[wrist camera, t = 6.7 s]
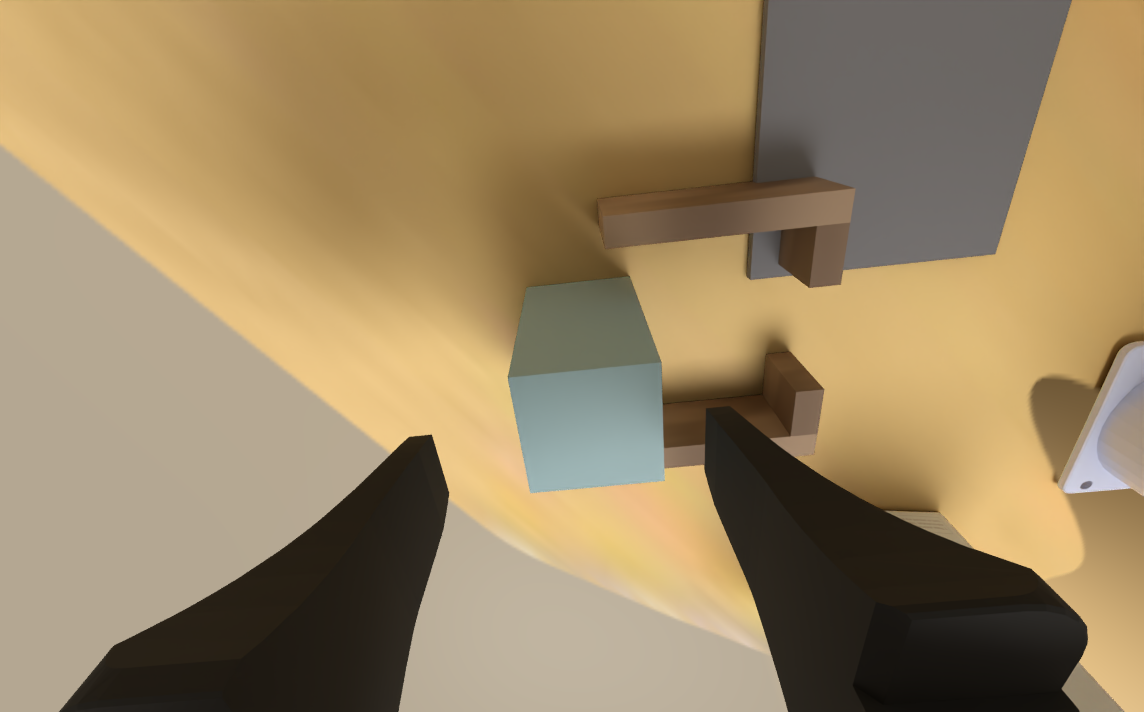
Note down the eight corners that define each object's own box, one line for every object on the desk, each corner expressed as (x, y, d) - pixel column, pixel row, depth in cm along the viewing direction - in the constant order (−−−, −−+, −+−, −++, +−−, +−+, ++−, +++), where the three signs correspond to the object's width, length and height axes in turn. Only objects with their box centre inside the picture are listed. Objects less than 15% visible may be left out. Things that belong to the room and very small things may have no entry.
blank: (629, 276, 19) (661, 362, 13) (634, 366, 21) (664, 481, 14) (526, 287, 19) (507, 377, 13) (540, 376, 21) (530, 493, 15)
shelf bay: (810, 174, 17) (855, 188, 14) (783, 411, 22) (814, 454, 19) (596, 199, 17) (602, 216, 15) (615, 427, 22) (622, 472, 19)
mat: (1075, -51, 14) (1087, -55, 14) (986, 251, 18) (995, 254, 18) (764, -11, 15) (769, -14, 14) (746, 276, 19) (750, 279, 18)
